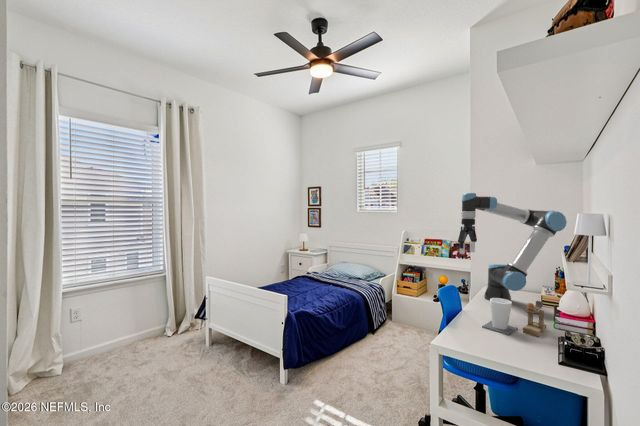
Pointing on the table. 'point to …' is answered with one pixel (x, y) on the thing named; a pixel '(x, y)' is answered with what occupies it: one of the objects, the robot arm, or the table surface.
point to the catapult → (535, 327)
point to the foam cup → (500, 312)
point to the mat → (503, 331)
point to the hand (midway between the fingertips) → (467, 253)
